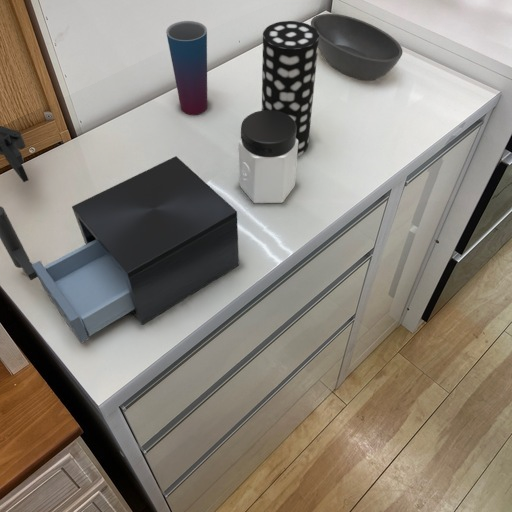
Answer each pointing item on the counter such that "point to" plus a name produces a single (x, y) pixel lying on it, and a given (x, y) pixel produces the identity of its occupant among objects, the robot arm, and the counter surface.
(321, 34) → the bowl
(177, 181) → the drawer box
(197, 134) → the counter surface
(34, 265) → the blue-grey drawer tray
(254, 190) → the jar
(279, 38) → the spotted tube
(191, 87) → the cup
